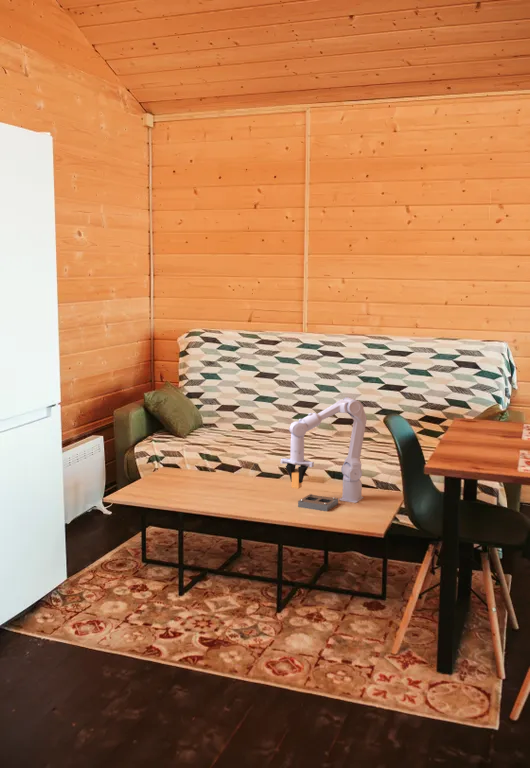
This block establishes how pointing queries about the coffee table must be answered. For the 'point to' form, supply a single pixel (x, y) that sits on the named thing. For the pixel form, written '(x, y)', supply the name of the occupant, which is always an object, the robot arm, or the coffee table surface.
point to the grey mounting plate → (318, 502)
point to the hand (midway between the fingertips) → (296, 481)
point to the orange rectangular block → (296, 480)
